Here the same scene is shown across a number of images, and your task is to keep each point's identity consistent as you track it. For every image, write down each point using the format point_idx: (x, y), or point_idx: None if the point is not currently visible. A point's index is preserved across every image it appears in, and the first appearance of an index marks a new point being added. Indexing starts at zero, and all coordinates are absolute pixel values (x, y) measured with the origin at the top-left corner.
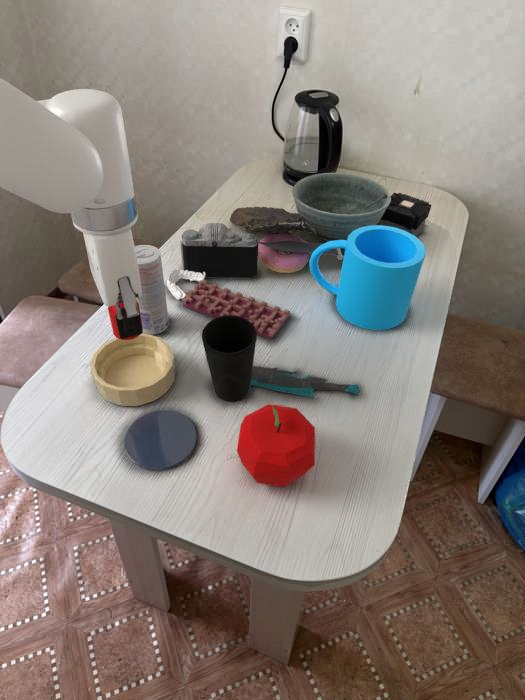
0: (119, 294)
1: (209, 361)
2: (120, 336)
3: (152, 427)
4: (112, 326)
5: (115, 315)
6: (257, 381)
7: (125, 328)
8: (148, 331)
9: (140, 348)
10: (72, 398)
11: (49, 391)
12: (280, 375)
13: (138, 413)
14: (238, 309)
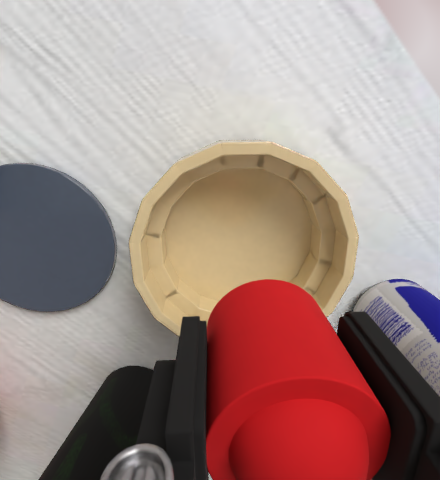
0: (408, 477)
1: (66, 473)
2: (181, 325)
3: (68, 235)
4: (264, 308)
5: (189, 435)
6: None
7: (147, 397)
8: (364, 303)
9: (306, 277)
10: (233, 69)
11: (286, 6)
12: None
13: (128, 215)
14: None
